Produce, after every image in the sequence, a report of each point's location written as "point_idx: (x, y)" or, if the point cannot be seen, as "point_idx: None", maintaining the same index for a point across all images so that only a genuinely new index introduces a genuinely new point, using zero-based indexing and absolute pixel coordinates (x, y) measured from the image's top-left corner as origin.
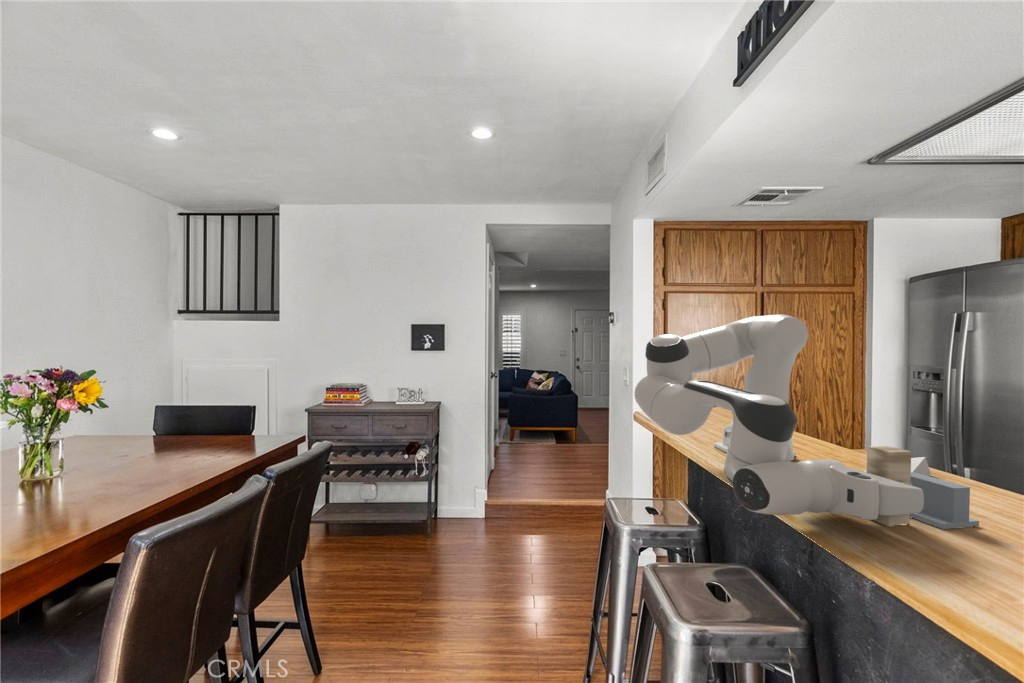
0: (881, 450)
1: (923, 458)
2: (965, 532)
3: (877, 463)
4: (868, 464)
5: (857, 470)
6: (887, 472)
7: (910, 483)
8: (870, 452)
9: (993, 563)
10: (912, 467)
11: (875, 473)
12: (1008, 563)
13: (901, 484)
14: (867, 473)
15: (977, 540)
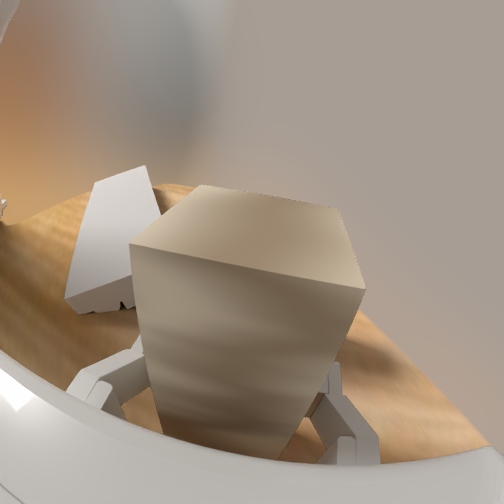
0: (274, 276)
1: (145, 168)
2: (336, 356)
3: (225, 360)
4: (155, 356)
5: (131, 457)
6: (297, 400)
7: (339, 366)
8: (161, 289)
9: (467, 450)
10: (146, 189)
11: (207, 397)
12: (465, 426)
13: (460, 491)
14: (217, 485)
15: (375, 378)
